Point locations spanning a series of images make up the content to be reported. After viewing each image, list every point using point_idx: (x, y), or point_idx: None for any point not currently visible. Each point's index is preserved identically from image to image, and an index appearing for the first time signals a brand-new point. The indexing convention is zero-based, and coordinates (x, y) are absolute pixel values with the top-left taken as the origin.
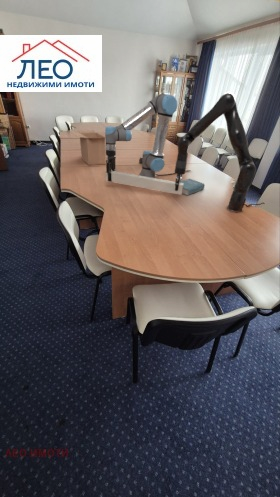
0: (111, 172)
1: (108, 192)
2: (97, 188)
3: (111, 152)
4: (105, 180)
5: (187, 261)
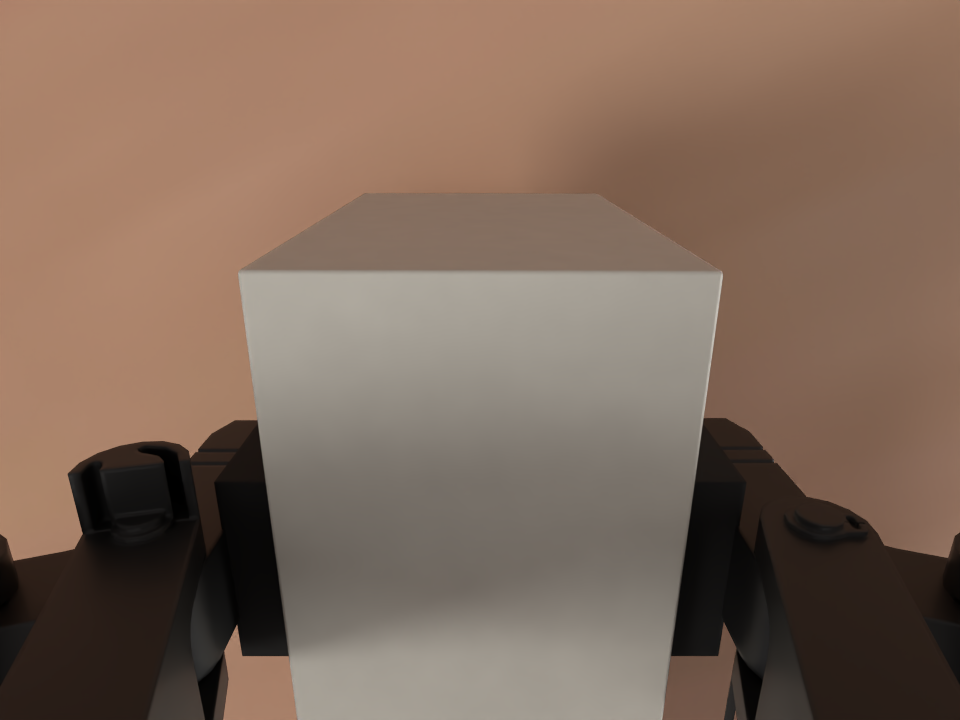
0: (336, 664)
1: (29, 441)
2: (57, 46)
3: None
4: (361, 196)
5: None
